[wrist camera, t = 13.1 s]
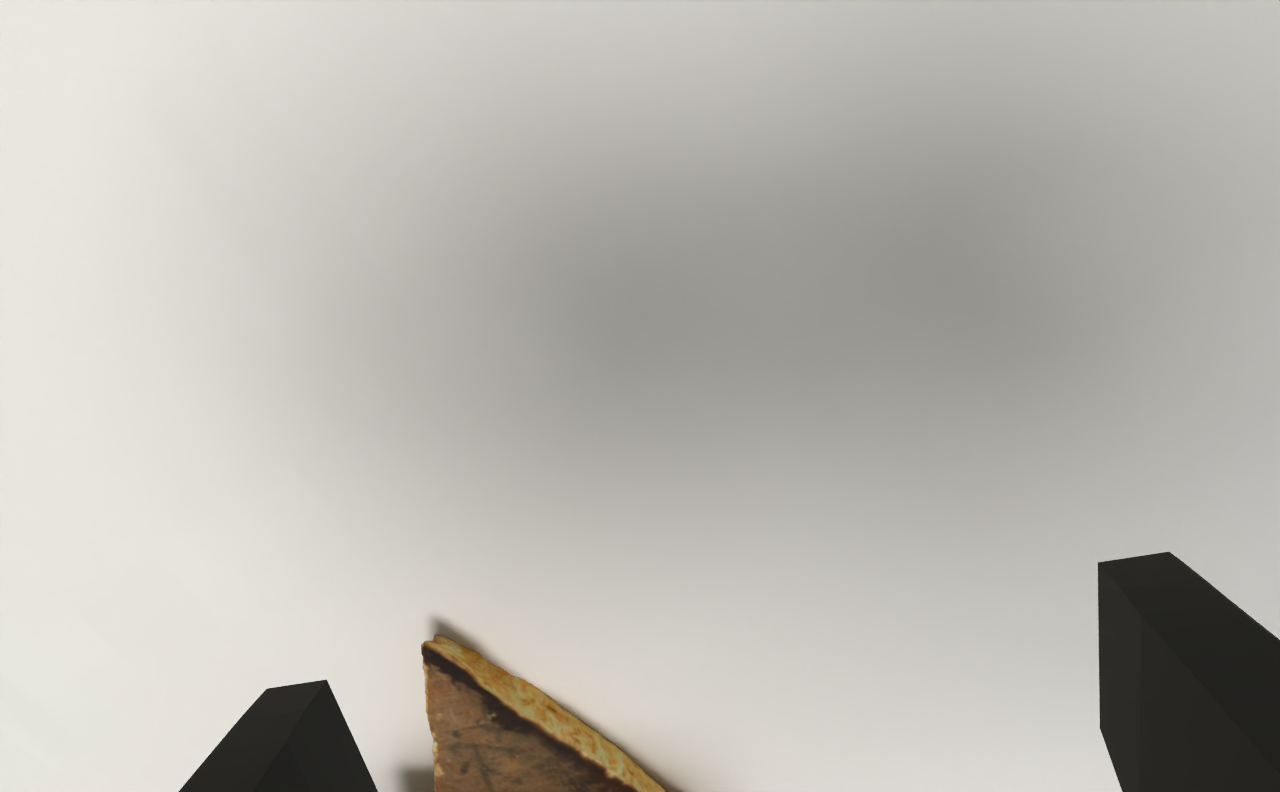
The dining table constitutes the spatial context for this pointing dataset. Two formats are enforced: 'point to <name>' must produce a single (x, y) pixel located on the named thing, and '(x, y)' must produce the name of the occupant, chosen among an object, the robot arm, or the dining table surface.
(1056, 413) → the dining table surface
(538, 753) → the shard
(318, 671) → the dining table surface
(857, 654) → the dining table surface
